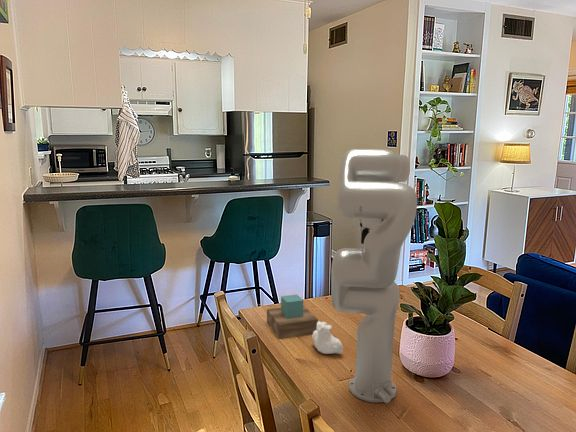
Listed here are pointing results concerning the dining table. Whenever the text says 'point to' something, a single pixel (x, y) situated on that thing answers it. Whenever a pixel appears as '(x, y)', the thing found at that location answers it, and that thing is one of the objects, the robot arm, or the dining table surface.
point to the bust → (326, 339)
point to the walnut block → (291, 323)
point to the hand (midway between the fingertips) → (373, 246)
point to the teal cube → (291, 306)
